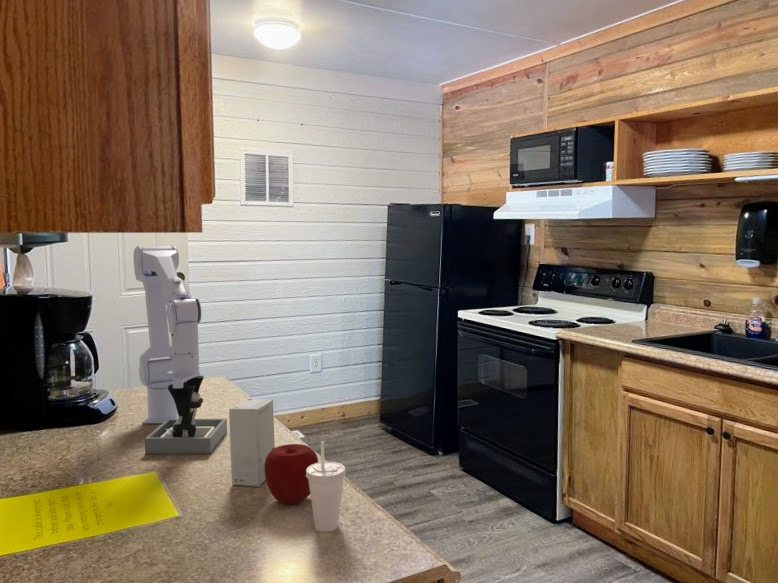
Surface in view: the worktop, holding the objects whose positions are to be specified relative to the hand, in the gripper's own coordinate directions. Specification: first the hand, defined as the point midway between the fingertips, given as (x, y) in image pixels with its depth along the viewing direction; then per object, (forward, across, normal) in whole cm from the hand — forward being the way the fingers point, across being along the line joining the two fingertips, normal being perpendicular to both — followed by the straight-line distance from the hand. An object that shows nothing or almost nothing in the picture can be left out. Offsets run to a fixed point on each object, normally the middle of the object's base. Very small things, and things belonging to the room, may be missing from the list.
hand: (187, 412), depth 139 cm
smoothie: (+8, +42, +32) cm, 54 cm away
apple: (+8, +32, +26) cm, 42 cm away
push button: (+6, 0, -2) cm, 6 cm away
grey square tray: (+7, 0, 0) cm, 7 cm away
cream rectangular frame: (+7, 0, 0) cm, 7 cm away
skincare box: (+8, +21, +18) cm, 28 cm away
